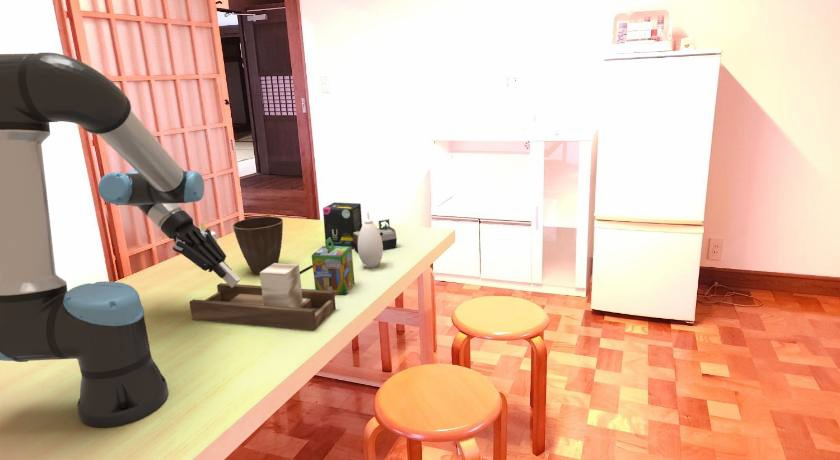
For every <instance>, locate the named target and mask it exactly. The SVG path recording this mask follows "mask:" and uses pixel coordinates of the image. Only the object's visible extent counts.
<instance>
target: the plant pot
mask: <svg viewBox="0 0 840 460" xmlns="http://www.w3.org/2000/svg"><path fill="white" fill-rule="evenodd" d="M283 223H284V219H283V218H281V217H279V216H278V217H277V216H258V217H251V218H247V219H242V220H239V221H236V222H234V223H233V225H232V228H233V230H234V234H235V237H236V240H237V244H238V245H239V249H240V252H241V253H242V256H243V258H244V260H245V262H246V264H247V266H248V268H249V269H250V271H251V273H252V274H254V275H259V276H260V272H261V271H263V270H264V269H266V268H267V267H269V266H271V265H272V264H274V263H279V261H280V256H281V249H282V243H283V231H284V230H283V228H284V227H283V226H284V224H283Z"/></svg>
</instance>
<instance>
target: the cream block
mask: <svg viewBox="0 0 840 460" xmlns="http://www.w3.org/2000/svg"><path fill="white" fill-rule="evenodd" d="M300 271H301V270H300V264H295V263H279V262H278V263H274V264H272V265H271V266H269V267H267V268H266V269H264V270H263V271H261V272H260V275H259V278H260V286H261V288H262V296H263V304H264V305H270V306H282V307H297V306H298V305H299V304H300V303H301V302H302V301H303V299H302V289H303V288H302V279H301V274H300Z"/></svg>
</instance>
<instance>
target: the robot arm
mask: <svg viewBox="0 0 840 460" xmlns="http://www.w3.org/2000/svg"><path fill="white" fill-rule="evenodd" d="M57 122H65V123H66V122H67V123H73V124H76V125H79V126H80V127H81V128H82V129H84V130H85V131H86V132H87V133H89V134H90V133H91V134H92V135H98V136H99V137H100V138H101V139H103V140H104V142H105V143H107V145H109V146H110V147H111V148H112V149H113V150H114V151H115V152H116V153H117V154H118V155H119V156H120V157H121V158H122V159H123V160H124V161H125V162H127V163H128V164H129V165H130V166H131V167H132V168H133V169H130V170H129V171H127V172H125V173H124V172H119V171H118V172H116V171H115V172H109V173H106V174H105V175H103V176H102V177H101V178H100V181H99V182H98V187H97V189H98V194H99V197H101V199H102V200H103V201H105V202H106V203H108V204H112V205H115V206H131V207H137V208H138V209H139V210H140V211H141V212H143V214H144V215H145V216H146V217H147V218H149V219H150V221H152V222H153V224H154V225H156V226H157V227H158V228H160V230H161V232H162V233H163V234H164V235H165V236H166V237H167V238H168V239H170V240H173V241H174V242H175V243H174V245H173V246H172V250H173V251H175V252H177V253H179V254H181V255H182V256H184V257H185V258H186V259H188V260H189V261H190V262H192V263H193V264H195V266H198V267H199V268H200V269H201V270H203V271H205V272H206V271H208V272H209V273H212V272H214V273H215V274H216V275H217V276H218V277H219V278H220V279H222V280H224V282H226V284H228V285H229V286H230V287H231V288H232V287H234V286H235V285H236V284H239V282H240V281H241V278H240V277H239V276H238V275H237V274H236V273H235V271H233V270H232V268H231V267H230V266H229V265H228V264H227V263H226V257H227V255H226V253H225V251H223V249H222V248H221V246H220V244H219V243H218V241H217V242H216V241H215V239H214V238H213V237H212V235H211V232H210V231H211V230H210V229H209V228H205V229H206V231H202V230H201V228H200V227H198V226H196V225H195V224H194V219H193V218H192V216H191V215H190V214H189V213H188V212H187V211H185V210H183V208H182V206H181V205H179V204H188V203H189V204H190V203H196V202H199V201H201V200H202V199H203V197H204V194H205V183H204V179H203V176H202V174H201V173H200V172H199V171H195V170H184V169H183V168H182V167H181V166H180V165H179V164H178V162H177V161H176V160H175V159H174V158H173V157H172V156H171V155H170V154H169V152H168V151H167V150H166V149H165V147H163V146H162V144H161V143H160V142H159V141H158V140H157V138H155V136H154V135H153V134H152V132H151V131H150V130H149V129H148V128H147V127H146V126H145V125H144V124H143V122H142V121H141V120H140V119H139V118H138V116H137V115H136V114H135V113H134V112H133V111H132V104H131V101H130V99H129V98H128V96H126V94H125V93H124V92H123V90H121V88H120V87H118V86H117V85H116V84H115V82H113V81H112V80H110V78H108V77H107V76H106V75H104V74H102V73H101V72H99V70H97V69H95V68H93V67H92V66H90V65H88V64H86V63H85V62H83V61H81V60H78V59H77V58H73V57H71V56H68V55H65V54H61V53H56V52H38V53H0V361H4V362H17V363H27V362H31V361H32V362H33V361H50V360H51V361H55V360H77V362H78V363H77V364H78V366H79V370H80V371H79V372H80V373H81V379H80V380H81V381H80V390H79V397H78V400H77V405H76V406H77V408H76V409H77V412H78V413H77V414H78V418H79V420H80V422H82V424H84V425H86V426H89V427H92V428H110V427H118V426H122V425H125V424H129V423H132V422H134V421H137V420H139V419H142V418H144V417H146V416H147V415H148V416H149V415H150V414H152V413H153V412H155V411H156V410H157V409H159V408H160V407H161V406H162V405H163V404H164V403H165V402H166V400H167V398H168V396H169V388H168V387H169V386H168V383H167V380H166V378H165V377H164V375H163V374H162V372H161V371H160V368H159V367H158V365H157V364H156V362H155V361H154V359H153V357H152V353H151V346H150V342H149V336H148V331H147V330H148V329H147V324H146V319H145V315H144V314H145V308H144V306H143V304H142V301H141V298H140V294H139V292H138V290H137V289H135V288H134V287H133V286H132V285H130V284H127V283H123V282H119V281H108V280H107V281H96V282H95V283H90V282H88V283H83V284H80V285H77V286H74V287H72V288H70V289H69V290H68V285H67V281H66V280H64V279H63V278H62V277H60V276H59V275H58V274H57V273H56V265H55V264H56V263H55V257H54V246H53V235H52V229H51V228H52V226H51V220H50V211H49V203H48V194H47V184H46V175H45V174H46V173H45V165H44V156H43V155H44V154H43V150H42V149H43V147H42V144H43V142H45V140H46V139H47V138H48V137H49V136H50V135H51V129H50V123H57ZM204 264H205V265H204Z"/></svg>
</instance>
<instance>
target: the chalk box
mask: <svg viewBox="0 0 840 460" xmlns="http://www.w3.org/2000/svg"><path fill="white" fill-rule="evenodd" d="M329 242H330V243H331V246H328V243H329ZM324 244H325V245H323V246H321V247H320V248H319V249H317V250H315V252H313V253H312V254H311V262H312V264H311V265H313V268H312V271H313V272H312V273H313V279H314V290H326V291H334V294H335V295H347V293H348V292H350V291H349V290H351V288H353V286H354V285H355V283H356V282H355V274H354V261H353V259H354V258H353V249H352V247H342V246H334V244H333V242H332V239H331V237H329V238H328V239H327V240H326V241H325V240H324Z"/></svg>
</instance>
